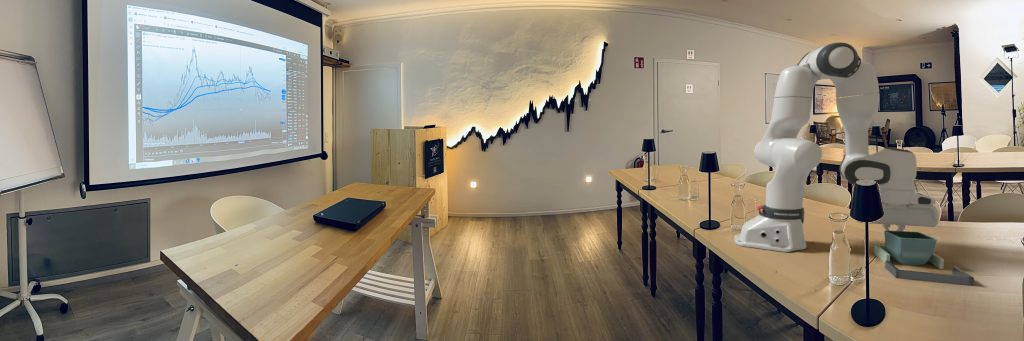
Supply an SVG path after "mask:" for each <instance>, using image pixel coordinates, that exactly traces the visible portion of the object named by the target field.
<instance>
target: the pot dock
mask: <svg viewBox="0 0 1024 341" xmlns="http://www.w3.org/2000/svg"><path fill="white" fill-rule="evenodd" d="M884 269H885V270H887V271H888V273H890V274H891V275H892V276H893V277H895V278H896V279H904V280H911V281H912V280H913V281H921V282H922V281H923V282H931V283H939V284H940V283H941V284H950V285H951V284H952V285H961V286H962V285H963V286H969V287H970V286H972V287H973V286H974V277H973V276H972V275H970V274H968V273H967V272H966V271H964V270H962V269H961V268H959V267H958V266H952V270H951V274H950V273H949V274H948V273H938V272H928V271H927V272H926V271H917V270H906V269H899V268H898V267H897V266H895V265H894V264H893V263H892V262H891V260H890V261H885V263H884Z"/></svg>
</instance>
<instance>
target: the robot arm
mask: <svg viewBox="0 0 1024 341" xmlns="http://www.w3.org/2000/svg"><path fill="white" fill-rule="evenodd" d="M820 80H830V81H831V82H832V84H833V86H834V89H835V104H836V109H837V113H838V117H839V118H840V121H841V124H842V127H843V130H844V150H845V151H844V152H845V153H844V156H843V159H842V160H841V162H840V165H839V173H840V175H841V176H842V178H843V179H844V180H846V181H847V182H848V183H849V184H851V185H853V186H855V185H854V183H855V182H856V181H857V180H862V179H870V180H876V181H877V182H878V184H879V188H880V193H881V200H882V206H883V211H884V216H883V217H882V218H881V219H880V220H878V221H875V222H871V223H869V224H871V225H872V224H874V225H875V224H876V225H882V228H883V229H884V231H891V230H890V229H889V228H891V226H897V229H896V230H895V231H905V230H906V226H907V227H909V226H910V227H924V228H926V227H929V228H934V227H936V226H938V224H939V211H938V208H937V207H936V206H935V205H936V201H937V200H936V199H935V198H934V197H931V196H929V195H926V194H922V193H921V192H919V193H918V192H916V186H915V179H916V178H917V171H918V170H917V169H918V168H917V166H918V165H917V162H918V161H917V157H916V154H915V153H914V152H912V151H911V150H909V149H904V148H897V147H884V148H883V149H881V150H880V151H876V152H874V153H871V154H870V150H869V128H870V125H871V123H872V122H873V120H874V119H875V117H876V116H877V115H878V111H879V108H880V88H879V81H878V76H877V73H876V70H875V66H874V65H872V63H870V62H866V61H862V59H861V57H860V56H859V54H858V51H857V50H856V49H855V47H854V46H853V45H851V44H849V43H847V42H832V43H829V44H827V45H822V46H818V47H817V48H814V49H813V50H811V51H809V52H807V53H806V54H804V55H803V56H802V58H800V60H799V62H798V63H797V64H796V65H792V66H789V67H786V68H784V69H782V71H781V72H780V74H779V77H778V79H777V82H776V87H775V91H774V96H773V97H774V98H773V103H772V110H771V116H770V120H769V124H768V127H767V129H766V131H765V133H764V135H763V136H762V138H761V139H760V140H759V141H758V142H757V143H756V144H755V146H754V149H753V154H754V157H755V159H756V160H757V162H760V163H762V164H763V165H765V166H767V167H772V168H775V171H774V175H773V177H772V179H771V180H769V181H768V182H767V184H766V186H765V204H764V205H762V204H757V205H756V208H757V210H758V215H755V217H752V218H751V219H749V220H748V221H746V222H744V223H743V225H742V227H741V231H740V233H738V234H735V235H734V238H733V241H734V242H735V244H736V245H738V246H740V247H747V248H753V249H762V250H769V251H776V252H783V253H791V252H794V251H800V250H805V249H807V248H808V245H807V243H806V239H805V234H804V225H803V224H804V223H805V222H804V221H805V207H803V205H804V204H803V203H804V191H805V190H804V189H805V184H806V181H807V179H808V177H809V175H810V173H811V171H812V170H814V169H815V168H816V167H818V166H819V164H820V163H821V161H822V160H823V159H822V158H823V151H822V147H820V145H819V144H817V143H816V142H814V141H811V140H808V139H805V138H797V137H798V134H799V133H800V131H801V130H802V129H803V127H804V126H806V125H807V124H808V123H809V121H810V118H811V111H812V105H813V103H812V102H813V98H814V88H815V85H816V84H817V83H818V81H820ZM856 222H857V223H859V224H864V223H863V222H859V221H856Z"/></svg>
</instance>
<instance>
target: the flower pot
mask: <svg viewBox="0 0 1024 341" xmlns="http://www.w3.org/2000/svg"><path fill="white" fill-rule="evenodd" d="M883 233H884V234H883V235H884V245H885V244H886V248H887V251H888V253H889V254H890V258H892V260H894V261H896V263H899V264H901V265H906V266H907V265H910V266H924V265H925V264H926V263H927V262H929V261H928V260H929V259H930V258H931V256H932V254H933V253H935V252H934V251H935V249H936V248H935V247H936V244H937V241H938V240H937V239H936V238H935V237H932V236H930V235H927V234H925V233H922V232H920V231H909V230H908V231H906V230H903V231H896V230H890V231H886V230H884V232H883Z"/></svg>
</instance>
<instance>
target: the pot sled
mask: <svg viewBox="0 0 1024 341" xmlns="http://www.w3.org/2000/svg"><path fill="white" fill-rule="evenodd" d="M874 253H875V254H874ZM873 254H874V255H875V256H876V257H877V258H879V259H880V261H882V262H883V263H884V264H885V261H890V262H891V256H890V254H889V253H888V251H887V248H886V244H885V243H884V244H874V245H873ZM927 262H928V263H930V264H932V265H933V266H935V267H936V268H937V269H939V270H944V266H945V264H944V263H945V259H944V258H943V257H941V256H939V255H938V254H936V253H935V252H933V254H932V256H931V258H930V259H929V260H928V261H927Z"/></svg>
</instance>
